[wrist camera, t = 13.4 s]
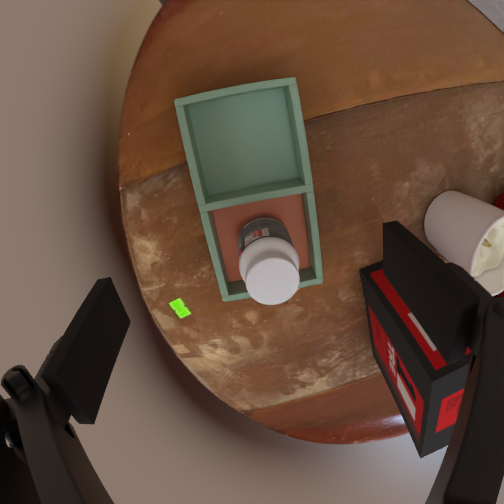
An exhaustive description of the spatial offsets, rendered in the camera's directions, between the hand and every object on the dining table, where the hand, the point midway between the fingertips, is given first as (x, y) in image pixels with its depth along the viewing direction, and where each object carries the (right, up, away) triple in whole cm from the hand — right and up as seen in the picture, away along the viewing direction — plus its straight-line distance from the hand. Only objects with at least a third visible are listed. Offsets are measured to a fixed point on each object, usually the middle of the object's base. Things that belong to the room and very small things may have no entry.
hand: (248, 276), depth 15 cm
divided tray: (0, +8, +20) cm, 22 cm away
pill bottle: (+1, +3, +22) cm, 22 cm away
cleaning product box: (+21, -7, +28) cm, 36 cm away
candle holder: (+26, +6, +23) cm, 35 cm away
